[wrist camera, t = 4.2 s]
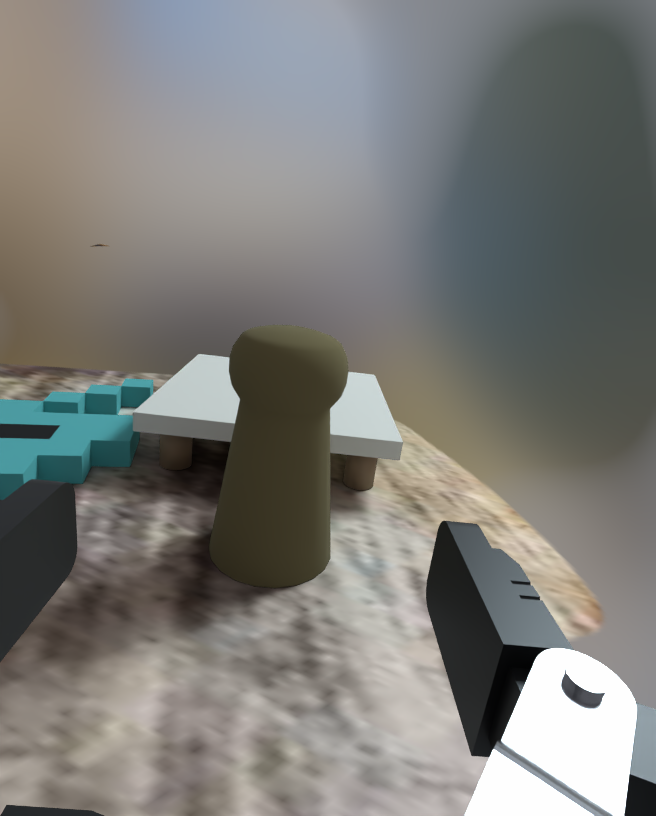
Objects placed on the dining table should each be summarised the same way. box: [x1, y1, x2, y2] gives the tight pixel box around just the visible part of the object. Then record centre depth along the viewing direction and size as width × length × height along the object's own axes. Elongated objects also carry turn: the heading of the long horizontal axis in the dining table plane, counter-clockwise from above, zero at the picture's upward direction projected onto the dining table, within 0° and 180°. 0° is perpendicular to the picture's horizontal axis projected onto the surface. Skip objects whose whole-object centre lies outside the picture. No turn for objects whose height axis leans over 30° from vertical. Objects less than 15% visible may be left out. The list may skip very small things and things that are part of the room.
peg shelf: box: [133, 354, 403, 490], centre depth 37 cm, size 16×16×4 cm
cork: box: [209, 325, 349, 588], centre depth 22 cm, size 6×6×11 cm
